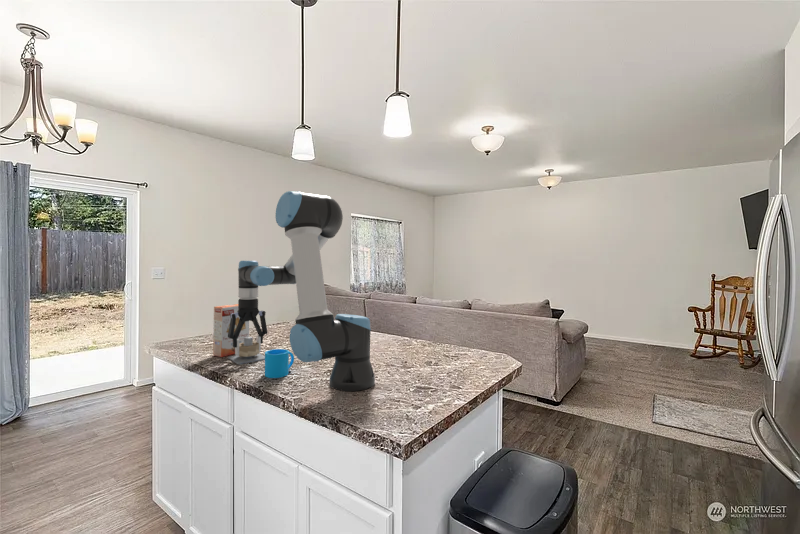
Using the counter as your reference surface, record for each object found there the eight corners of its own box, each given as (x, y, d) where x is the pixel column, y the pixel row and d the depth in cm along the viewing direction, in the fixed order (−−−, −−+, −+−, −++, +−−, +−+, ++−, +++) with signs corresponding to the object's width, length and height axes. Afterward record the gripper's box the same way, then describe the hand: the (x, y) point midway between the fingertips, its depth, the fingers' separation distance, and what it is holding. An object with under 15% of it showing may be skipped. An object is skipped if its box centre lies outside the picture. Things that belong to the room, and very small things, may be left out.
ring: (261, 354, 152) (261, 344, 152) (241, 357, 147) (241, 347, 147) (253, 350, 158) (253, 341, 158) (234, 353, 153) (234, 343, 153)
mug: (275, 379, 128) (275, 356, 128) (259, 375, 132) (259, 352, 132) (301, 370, 138) (301, 348, 138) (285, 367, 142) (286, 345, 142)
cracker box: (222, 357, 153) (222, 307, 153) (212, 355, 156) (212, 306, 155) (249, 350, 166) (250, 303, 165) (240, 348, 168) (240, 302, 168)
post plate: (268, 359, 152) (268, 338, 152) (238, 364, 144) (238, 342, 144) (256, 353, 161) (256, 333, 161) (227, 358, 153) (227, 337, 153)
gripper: (269, 295, 162) (268, 347, 162) (218, 298, 148) (218, 355, 148) (276, 297, 156) (276, 351, 157) (224, 300, 142) (224, 359, 143)
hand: (248, 353), depth 153 cm, fingers closed on ring, 8 cm apart
